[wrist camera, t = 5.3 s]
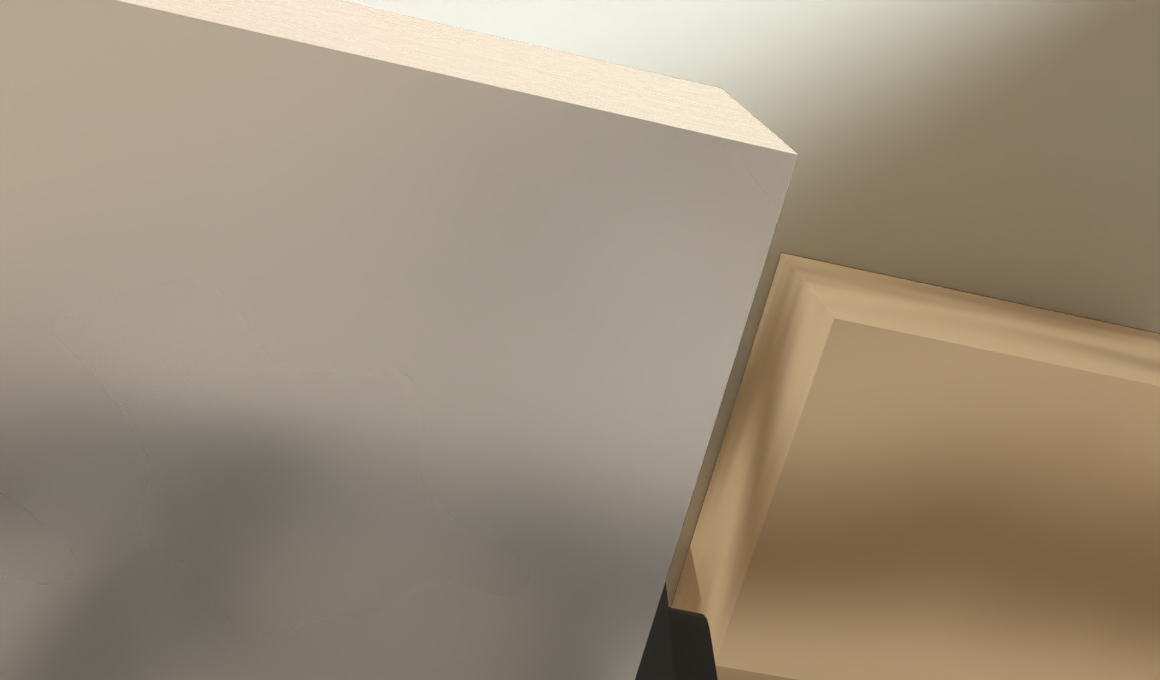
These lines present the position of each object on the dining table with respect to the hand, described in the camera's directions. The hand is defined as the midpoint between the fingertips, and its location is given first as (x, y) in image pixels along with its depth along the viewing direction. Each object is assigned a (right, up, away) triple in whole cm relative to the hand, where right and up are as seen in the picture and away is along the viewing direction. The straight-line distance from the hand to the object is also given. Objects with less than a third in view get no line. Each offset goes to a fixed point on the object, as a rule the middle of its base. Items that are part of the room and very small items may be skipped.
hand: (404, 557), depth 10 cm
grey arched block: (0, +1, +4) cm, 4 cm away
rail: (+8, -8, +13) cm, 17 cm away
